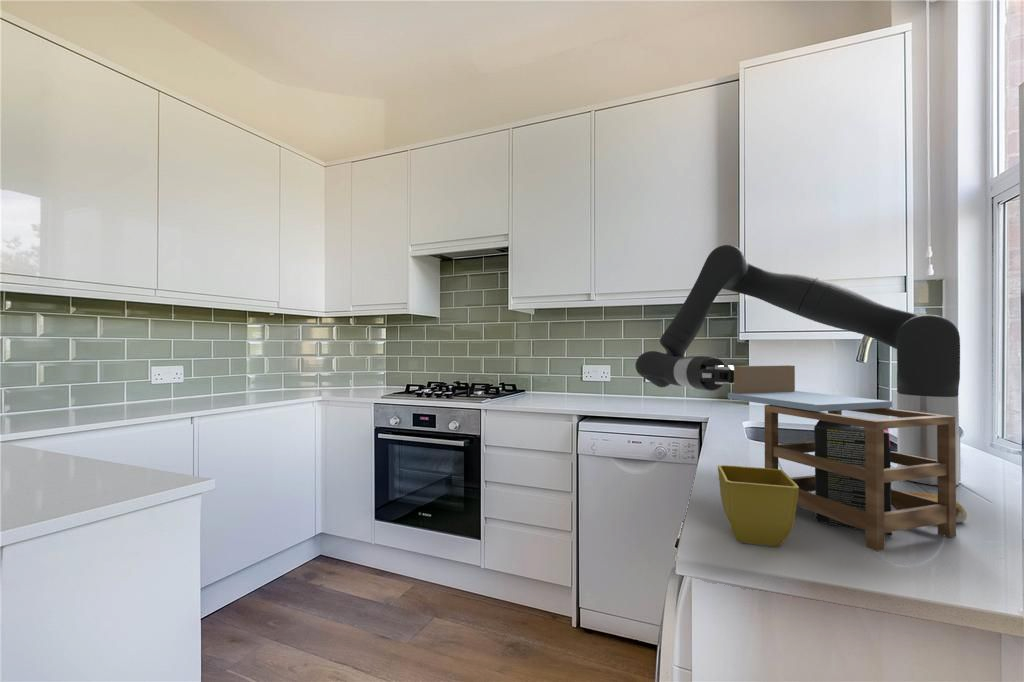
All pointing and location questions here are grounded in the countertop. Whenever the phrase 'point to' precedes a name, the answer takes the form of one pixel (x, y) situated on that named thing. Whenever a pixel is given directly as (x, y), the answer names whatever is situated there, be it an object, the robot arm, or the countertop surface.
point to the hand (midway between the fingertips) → (761, 377)
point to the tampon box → (849, 449)
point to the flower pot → (758, 503)
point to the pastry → (960, 511)
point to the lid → (790, 391)
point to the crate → (875, 472)
